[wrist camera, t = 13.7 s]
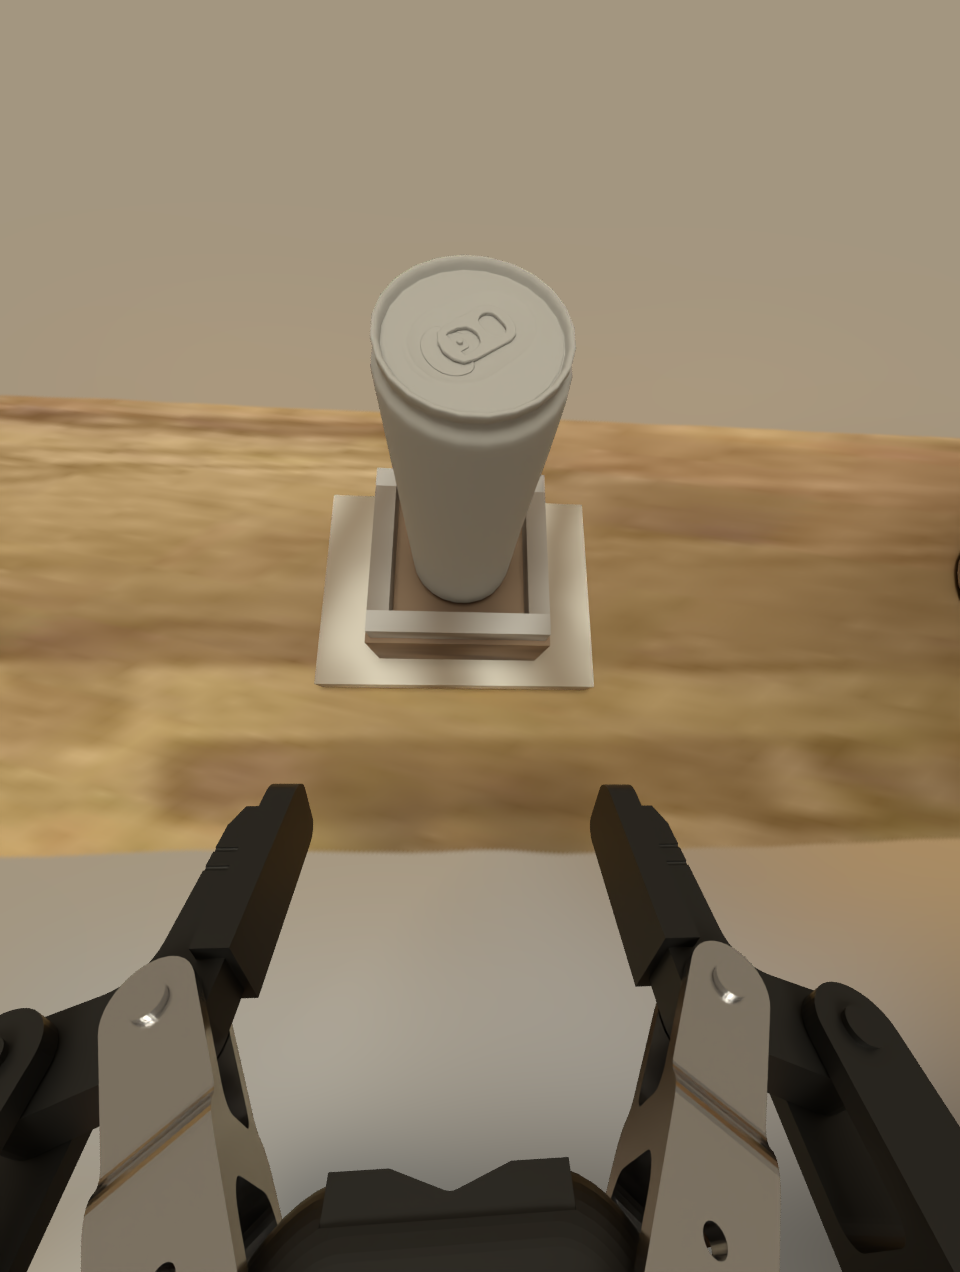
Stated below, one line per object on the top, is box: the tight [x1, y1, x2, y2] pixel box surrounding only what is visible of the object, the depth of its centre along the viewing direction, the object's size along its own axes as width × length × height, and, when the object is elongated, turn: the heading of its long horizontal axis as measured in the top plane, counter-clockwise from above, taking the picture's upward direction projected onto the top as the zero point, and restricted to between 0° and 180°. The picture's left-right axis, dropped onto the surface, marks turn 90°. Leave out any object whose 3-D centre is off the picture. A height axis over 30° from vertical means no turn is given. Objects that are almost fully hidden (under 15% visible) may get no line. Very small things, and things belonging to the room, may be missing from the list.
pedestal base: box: [314, 468, 594, 690], centre depth 22 cm, size 16×12×7 cm
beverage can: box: [370, 255, 576, 603], centre depth 15 cm, size 5×5×12 cm
